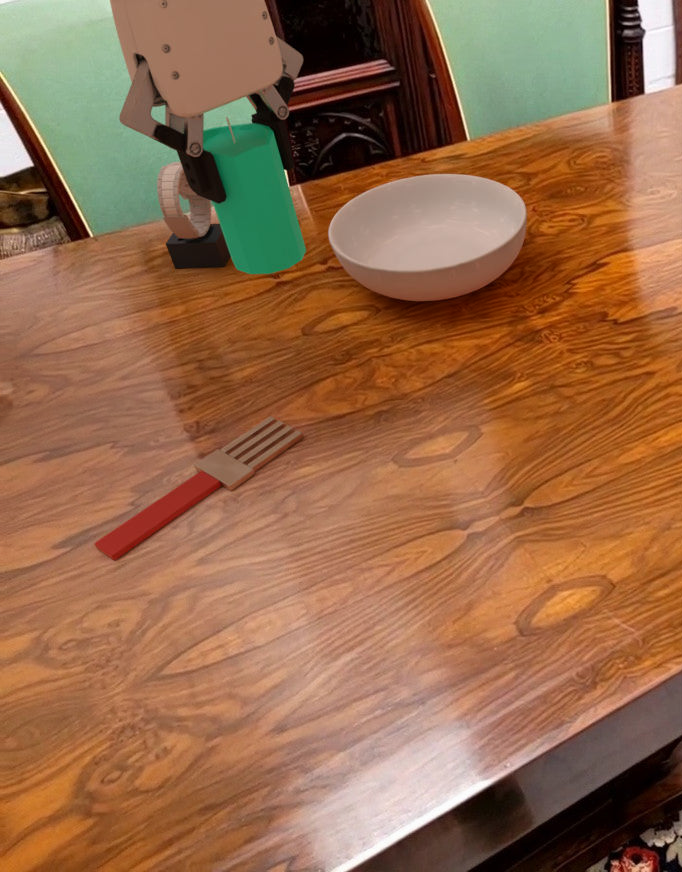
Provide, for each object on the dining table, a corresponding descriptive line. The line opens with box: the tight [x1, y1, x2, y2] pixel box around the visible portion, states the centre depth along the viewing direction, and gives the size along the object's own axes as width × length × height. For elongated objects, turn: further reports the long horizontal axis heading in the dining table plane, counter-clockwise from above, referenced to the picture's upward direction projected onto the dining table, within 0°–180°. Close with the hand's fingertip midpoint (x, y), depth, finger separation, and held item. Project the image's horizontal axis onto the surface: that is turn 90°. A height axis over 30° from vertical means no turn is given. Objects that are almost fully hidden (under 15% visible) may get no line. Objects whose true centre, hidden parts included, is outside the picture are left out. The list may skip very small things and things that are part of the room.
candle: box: [203, 116, 307, 275], centre depth 75 cm, size 6×6×12 cm
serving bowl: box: [327, 173, 528, 302], centre depth 102 cm, size 21×21×7 cm
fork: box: [93, 415, 304, 561], centre depth 78 cm, size 18×5×1 cm, turn 146°
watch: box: [156, 161, 231, 269], centre depth 103 cm, size 6×8×11 cm
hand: (246, 179), depth 74 cm, fingers closed on candle, 6 cm apart
